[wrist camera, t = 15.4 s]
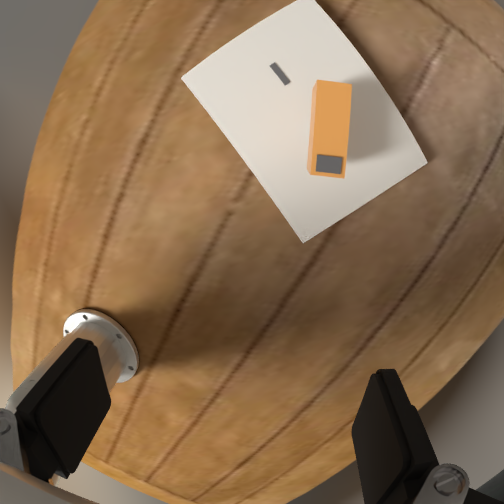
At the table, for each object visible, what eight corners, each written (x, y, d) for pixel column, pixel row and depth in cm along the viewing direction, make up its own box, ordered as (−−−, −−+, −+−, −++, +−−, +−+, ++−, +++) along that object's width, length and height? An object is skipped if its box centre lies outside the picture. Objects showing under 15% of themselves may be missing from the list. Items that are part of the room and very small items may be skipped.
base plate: (302, 237, 33) (303, 250, 29) (186, 80, 29) (173, 74, 25) (420, 160, 29) (436, 164, 25) (307, 1, 24) (309, -15, 21)
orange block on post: (312, 88, 24) (317, 79, 20) (341, 92, 24) (352, 83, 20) (306, 168, 27) (310, 175, 22) (335, 171, 26) (344, 178, 22)
